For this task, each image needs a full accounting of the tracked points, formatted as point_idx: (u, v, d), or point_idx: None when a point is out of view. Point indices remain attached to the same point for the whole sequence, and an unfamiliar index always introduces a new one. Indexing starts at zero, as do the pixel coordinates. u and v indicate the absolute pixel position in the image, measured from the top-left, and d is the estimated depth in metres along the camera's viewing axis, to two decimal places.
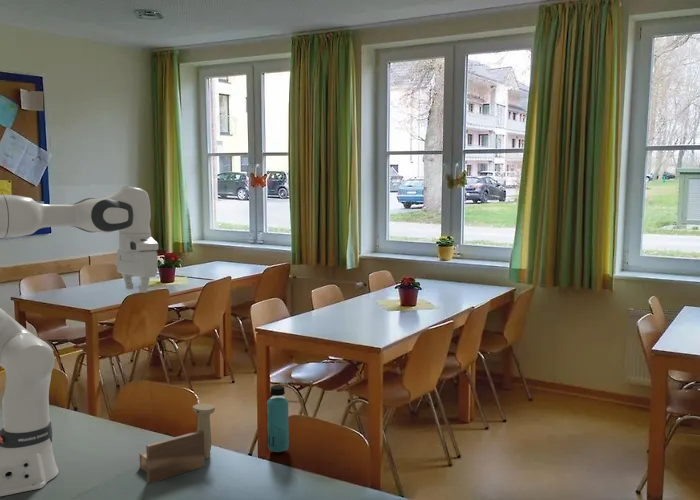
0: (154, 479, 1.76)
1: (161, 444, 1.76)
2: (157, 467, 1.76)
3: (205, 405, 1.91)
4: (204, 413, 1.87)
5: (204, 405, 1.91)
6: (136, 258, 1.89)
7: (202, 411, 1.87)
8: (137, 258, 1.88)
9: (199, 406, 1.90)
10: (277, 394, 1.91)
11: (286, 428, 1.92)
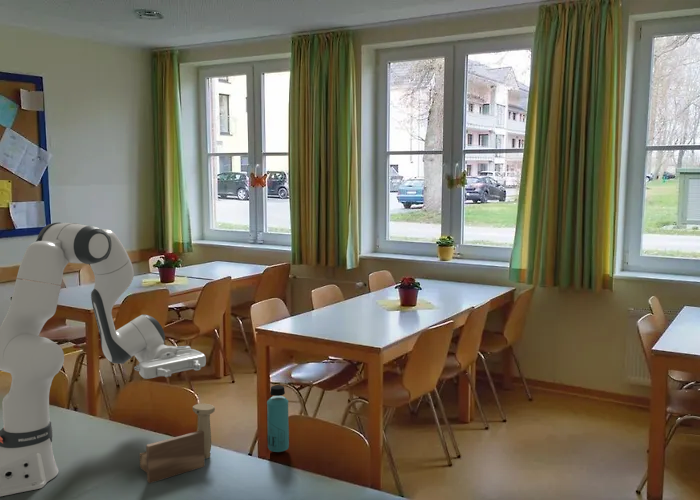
0: (154, 479, 1.76)
1: (161, 444, 1.76)
2: (157, 467, 1.76)
3: (205, 405, 1.91)
4: (204, 413, 1.87)
5: (203, 405, 1.91)
6: (181, 356, 2.08)
7: (202, 411, 1.87)
8: (183, 355, 2.08)
9: (199, 406, 1.90)
10: (277, 394, 1.91)
11: (286, 428, 1.92)
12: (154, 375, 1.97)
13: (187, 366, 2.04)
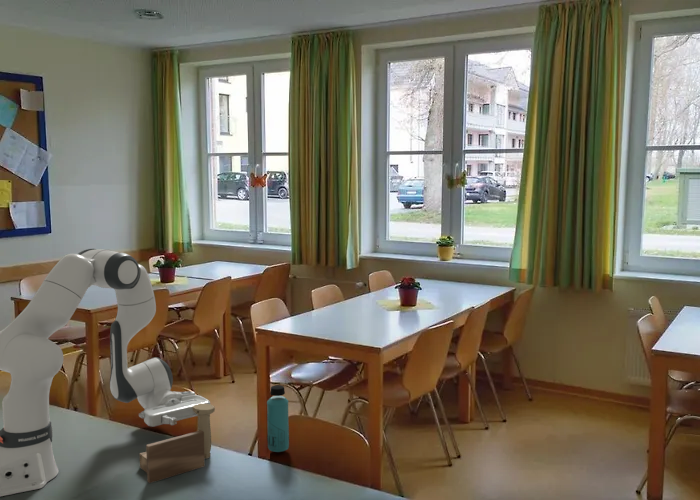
0: (154, 479, 1.76)
1: (161, 444, 1.76)
2: (157, 467, 1.76)
3: (205, 405, 1.91)
4: (204, 413, 1.87)
5: (204, 405, 1.91)
6: (186, 402, 2.07)
7: (202, 411, 1.87)
8: (188, 401, 2.07)
9: (199, 406, 1.90)
10: (277, 394, 1.91)
11: (286, 428, 1.92)
12: (159, 423, 1.96)
13: (192, 413, 2.04)
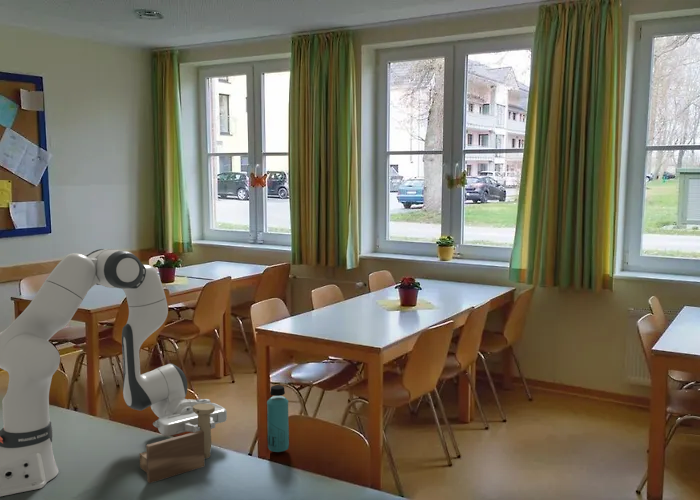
0: (154, 479, 1.76)
1: (161, 444, 1.76)
2: (157, 467, 1.76)
3: (205, 405, 1.91)
4: (204, 413, 1.87)
5: (204, 405, 1.91)
6: None
7: (202, 411, 1.87)
8: None
9: (199, 406, 1.90)
10: (277, 394, 1.91)
11: (286, 428, 1.92)
12: (174, 432, 1.89)
13: None
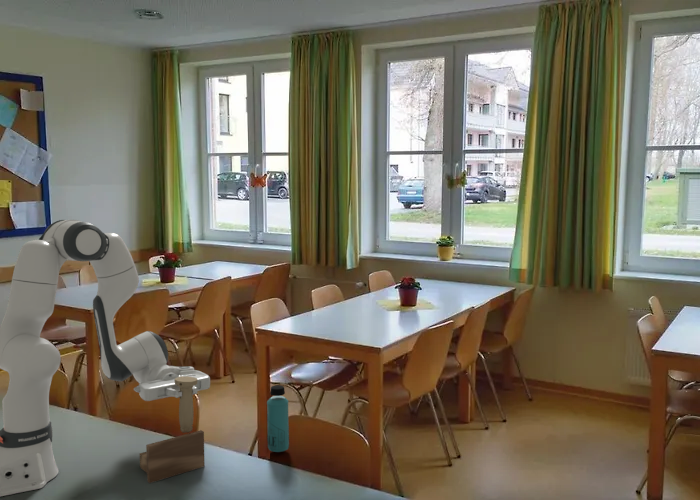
0: (154, 479, 1.76)
1: (161, 444, 1.76)
2: (157, 467, 1.76)
3: (187, 378, 1.87)
4: (187, 385, 1.83)
5: (186, 378, 1.86)
6: None
7: (185, 383, 1.83)
8: None
9: (180, 378, 1.86)
10: (277, 394, 1.91)
11: (286, 428, 1.92)
12: (155, 397, 1.84)
13: None
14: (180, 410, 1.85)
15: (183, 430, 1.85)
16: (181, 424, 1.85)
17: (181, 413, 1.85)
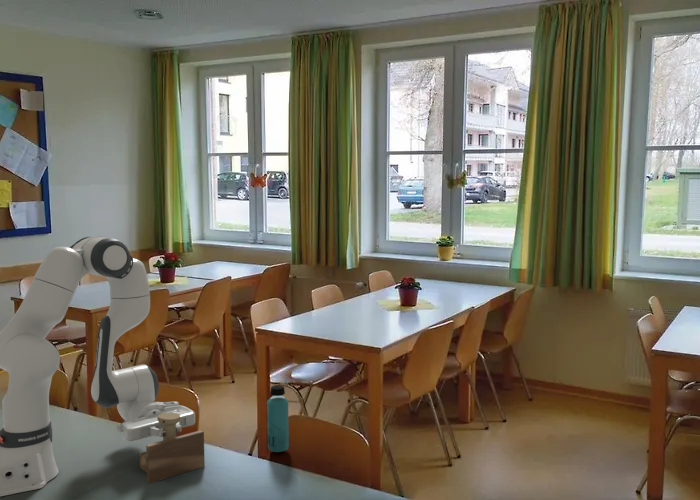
0: (154, 479, 1.76)
1: (161, 444, 1.76)
2: (157, 467, 1.76)
3: (170, 414, 1.83)
4: (170, 423, 1.80)
5: (169, 414, 1.83)
6: None
7: (168, 420, 1.80)
8: None
9: (164, 415, 1.83)
10: (277, 394, 1.91)
11: (286, 428, 1.92)
12: (139, 437, 1.81)
13: None
14: None
15: None
16: None
17: None
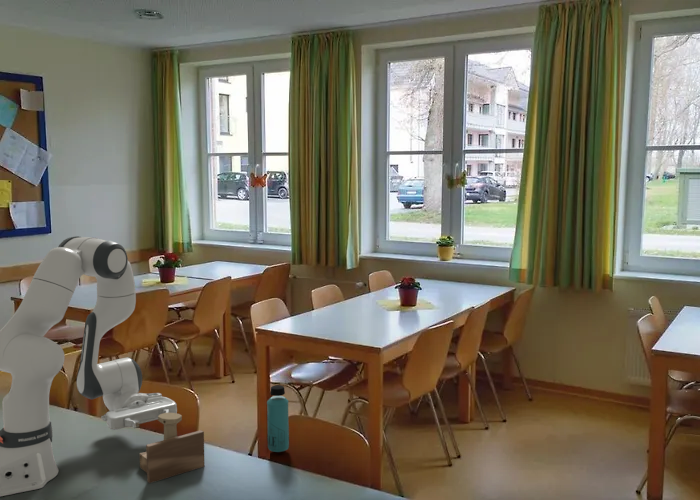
0: (154, 479, 1.76)
1: (161, 444, 1.76)
2: (157, 467, 1.76)
3: (171, 414, 1.83)
4: (171, 423, 1.80)
5: (170, 414, 1.83)
6: (151, 404, 2.00)
7: (169, 420, 1.80)
8: (153, 403, 2.01)
9: (164, 415, 1.83)
10: (277, 394, 1.91)
11: (286, 428, 1.92)
12: (122, 426, 1.90)
13: (157, 415, 1.97)
14: None
15: None
16: None
17: None
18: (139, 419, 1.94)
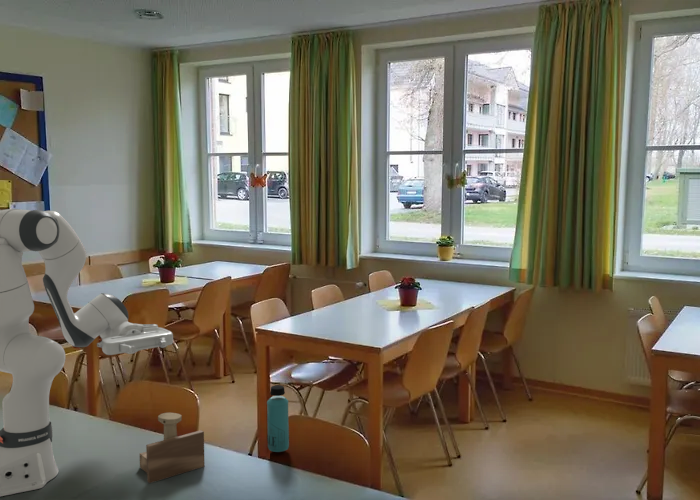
0: (154, 479, 1.76)
1: (161, 444, 1.76)
2: (157, 467, 1.76)
3: (171, 414, 1.83)
4: (171, 422, 1.80)
5: (169, 414, 1.83)
6: (147, 333, 1.99)
7: (169, 420, 1.80)
8: (149, 333, 1.99)
9: (164, 415, 1.83)
10: (277, 394, 1.91)
11: (286, 428, 1.92)
12: (117, 351, 1.88)
13: (153, 344, 1.96)
14: None
15: None
16: None
17: None
18: (135, 346, 1.92)
